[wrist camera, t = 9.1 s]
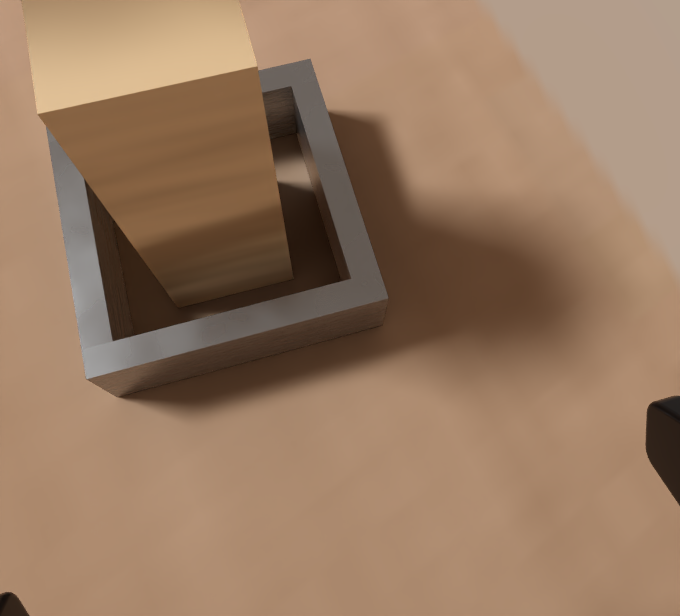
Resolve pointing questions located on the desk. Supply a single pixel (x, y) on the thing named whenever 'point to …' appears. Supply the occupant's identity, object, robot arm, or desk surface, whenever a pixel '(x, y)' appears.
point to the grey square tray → (239, 324)
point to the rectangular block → (166, 134)
